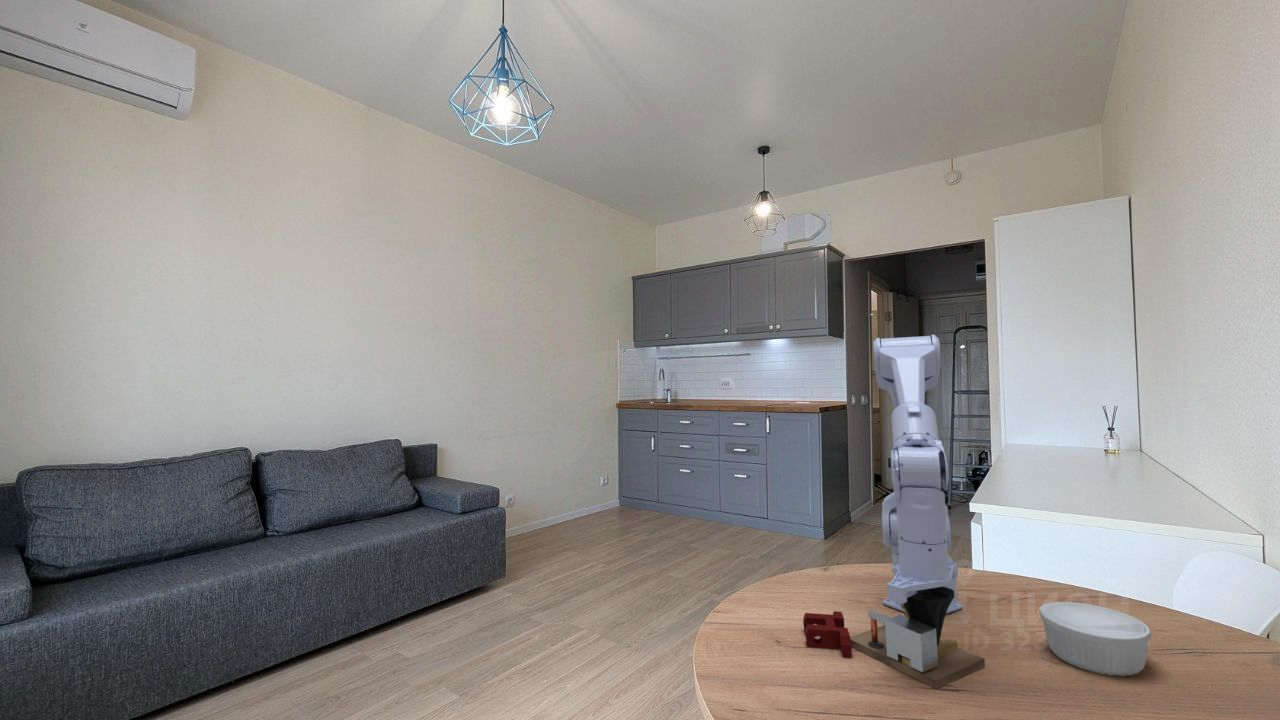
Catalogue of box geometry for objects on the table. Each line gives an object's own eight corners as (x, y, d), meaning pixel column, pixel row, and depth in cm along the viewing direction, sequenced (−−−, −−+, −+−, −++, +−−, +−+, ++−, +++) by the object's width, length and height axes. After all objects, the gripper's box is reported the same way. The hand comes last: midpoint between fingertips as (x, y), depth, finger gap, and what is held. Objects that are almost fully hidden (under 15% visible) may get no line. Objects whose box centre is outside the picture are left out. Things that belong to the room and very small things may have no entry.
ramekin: (1135, 692, 63) (1131, 645, 64) (1026, 654, 73) (1023, 613, 73) (1167, 664, 69) (1163, 621, 70) (1062, 632, 79) (1060, 595, 79)
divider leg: (938, 665, 68) (936, 628, 68) (922, 672, 66) (920, 634, 66) (879, 639, 75) (877, 605, 75) (864, 644, 74) (862, 610, 74)
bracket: (851, 639, 73) (840, 609, 83) (806, 636, 74) (801, 607, 84) (852, 660, 73) (841, 628, 83) (807, 657, 74) (802, 625, 84)
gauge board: (985, 666, 70) (982, 622, 70) (936, 688, 65) (933, 641, 65) (895, 628, 81) (893, 591, 81) (847, 645, 76) (845, 605, 77)
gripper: (919, 523, 79) (924, 620, 78) (862, 542, 70) (868, 650, 70) (972, 533, 73) (978, 637, 73) (917, 554, 65) (923, 672, 64)
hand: (928, 645), depth 71 cm, fingers closed
